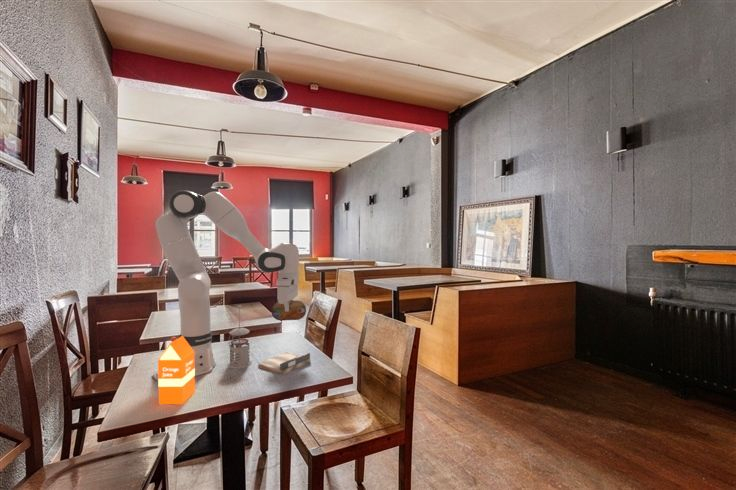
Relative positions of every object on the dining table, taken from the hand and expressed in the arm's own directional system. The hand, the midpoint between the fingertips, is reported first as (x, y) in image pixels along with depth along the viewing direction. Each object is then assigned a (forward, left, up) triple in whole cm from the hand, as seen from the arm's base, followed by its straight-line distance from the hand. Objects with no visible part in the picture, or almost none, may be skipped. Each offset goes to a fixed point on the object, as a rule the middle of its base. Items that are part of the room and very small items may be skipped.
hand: (288, 310), depth 158 cm
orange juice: (-49, +2, -21) cm, 54 cm away
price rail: (-8, -13, -19) cm, 24 cm away
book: (-8, -6, -21) cm, 23 cm away
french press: (-18, +11, -21) cm, 30 cm away
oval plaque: (+1, 0, -5) cm, 4 cm away
